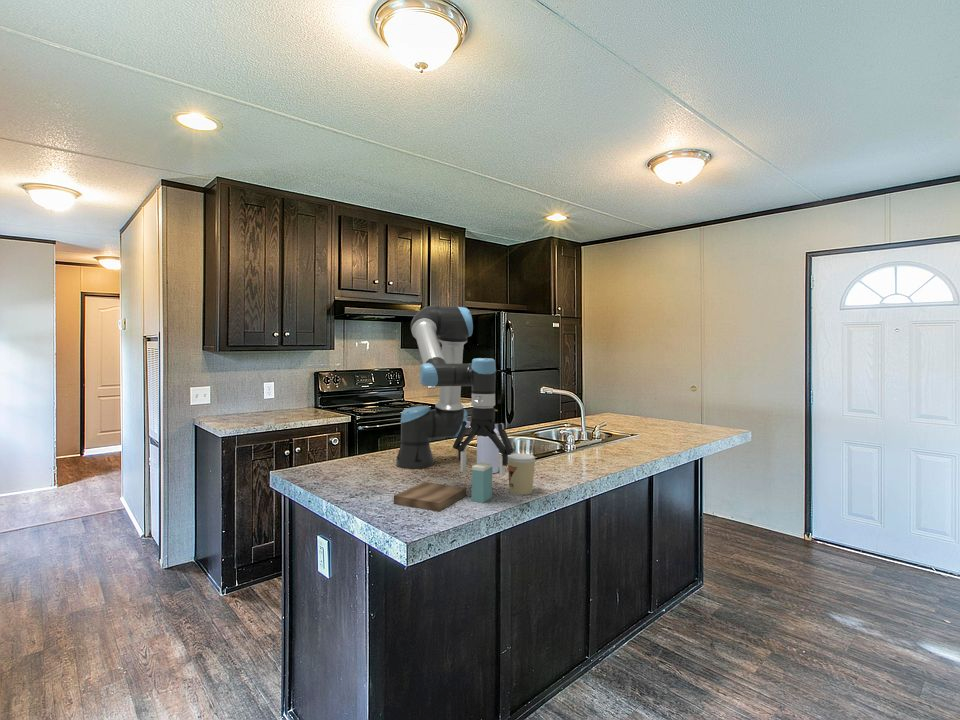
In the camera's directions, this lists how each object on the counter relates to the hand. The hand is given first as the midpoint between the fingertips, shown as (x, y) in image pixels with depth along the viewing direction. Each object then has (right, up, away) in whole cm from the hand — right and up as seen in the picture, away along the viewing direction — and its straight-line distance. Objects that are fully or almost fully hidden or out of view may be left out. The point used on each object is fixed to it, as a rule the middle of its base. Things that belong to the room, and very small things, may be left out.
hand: (482, 473), depth 164 cm
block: (0, -8, +1) cm, 8 cm away
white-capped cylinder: (+13, -8, +10) cm, 18 cm away
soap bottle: (+2, -7, +37) cm, 38 cm away
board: (-16, -8, -1) cm, 18 cm away
